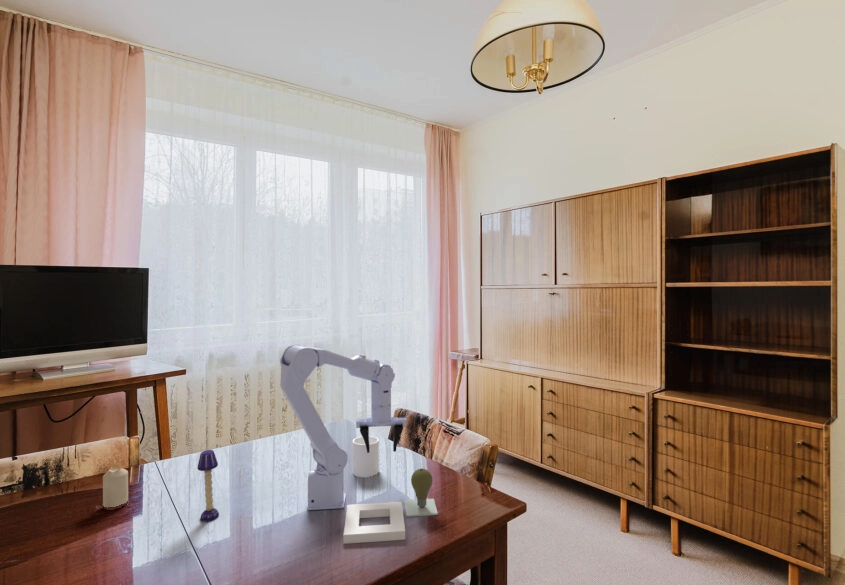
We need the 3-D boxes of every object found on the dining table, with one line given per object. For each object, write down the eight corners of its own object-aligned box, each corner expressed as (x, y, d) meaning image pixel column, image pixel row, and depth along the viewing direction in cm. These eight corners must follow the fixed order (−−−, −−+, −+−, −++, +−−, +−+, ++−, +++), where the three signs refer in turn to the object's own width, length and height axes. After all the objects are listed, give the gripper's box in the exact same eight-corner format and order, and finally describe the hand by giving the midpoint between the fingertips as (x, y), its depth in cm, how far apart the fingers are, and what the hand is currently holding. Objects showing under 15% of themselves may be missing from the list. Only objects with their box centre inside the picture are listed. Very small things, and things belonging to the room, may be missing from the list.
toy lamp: (197, 523, 107) (197, 456, 107) (197, 515, 111) (197, 450, 111) (219, 518, 109) (218, 452, 109) (218, 510, 114) (218, 446, 114)
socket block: (343, 543, 98) (343, 534, 98) (347, 512, 112) (347, 504, 112) (405, 539, 100) (405, 530, 100) (401, 509, 114) (401, 501, 114)
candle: (132, 503, 118) (132, 466, 118) (111, 512, 113) (110, 474, 113) (120, 499, 120) (120, 463, 120) (98, 508, 115) (98, 470, 115)
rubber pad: (406, 516, 110) (406, 515, 110) (404, 501, 118) (404, 500, 118) (437, 515, 111) (437, 513, 111) (433, 500, 119) (433, 498, 119)
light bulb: (430, 513, 110) (429, 474, 110) (408, 511, 112) (408, 472, 112) (434, 503, 116) (434, 466, 116) (414, 501, 117) (414, 464, 117)
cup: (376, 461, 146) (376, 431, 146) (380, 476, 134) (380, 443, 134) (351, 463, 144) (351, 433, 144) (353, 478, 133) (353, 445, 133)
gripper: (355, 409, 122) (355, 457, 122) (406, 407, 124) (407, 454, 124) (356, 402, 129) (356, 448, 129) (405, 401, 131) (405, 446, 131)
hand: (381, 451), depth 127 cm, fingers open, 7 cm apart
